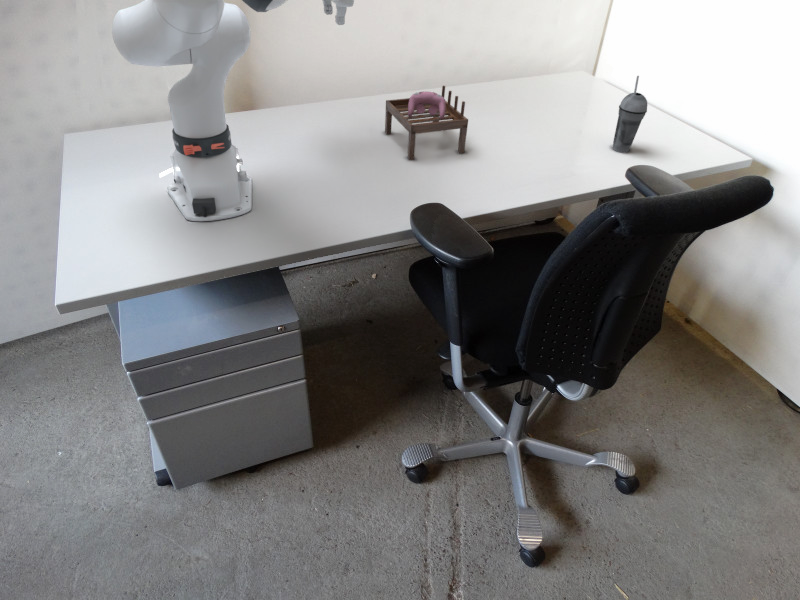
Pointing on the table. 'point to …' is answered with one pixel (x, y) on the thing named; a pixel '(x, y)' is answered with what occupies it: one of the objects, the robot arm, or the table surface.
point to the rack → (437, 125)
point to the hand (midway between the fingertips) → (334, 18)
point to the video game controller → (427, 97)
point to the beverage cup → (629, 120)
